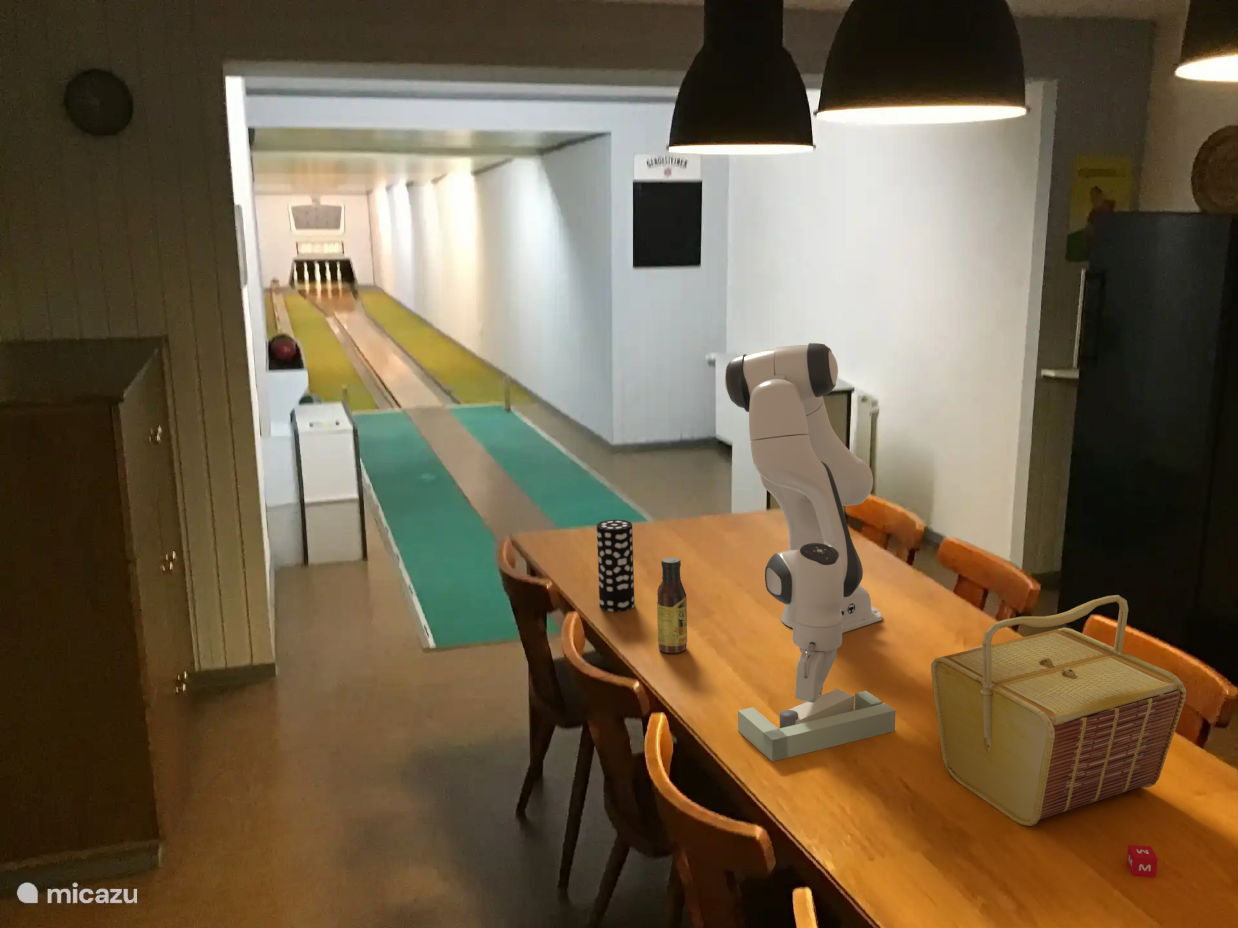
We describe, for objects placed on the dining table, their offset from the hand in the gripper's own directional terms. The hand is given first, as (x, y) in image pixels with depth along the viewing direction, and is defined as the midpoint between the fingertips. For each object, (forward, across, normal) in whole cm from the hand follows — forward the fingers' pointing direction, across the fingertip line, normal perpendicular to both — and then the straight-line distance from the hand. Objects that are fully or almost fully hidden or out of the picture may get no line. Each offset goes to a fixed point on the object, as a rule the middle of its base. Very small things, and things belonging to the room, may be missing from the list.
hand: (815, 702), depth 197 cm
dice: (+1, -33, -52) cm, 62 cm away
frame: (+2, -7, -2) cm, 8 cm away
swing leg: (+2, -5, -1) cm, 6 cm away
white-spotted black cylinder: (+3, +40, +55) cm, 68 cm away
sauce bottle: (+2, +20, +34) cm, 40 cm away
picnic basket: (+2, -13, -40) cm, 42 cm away
